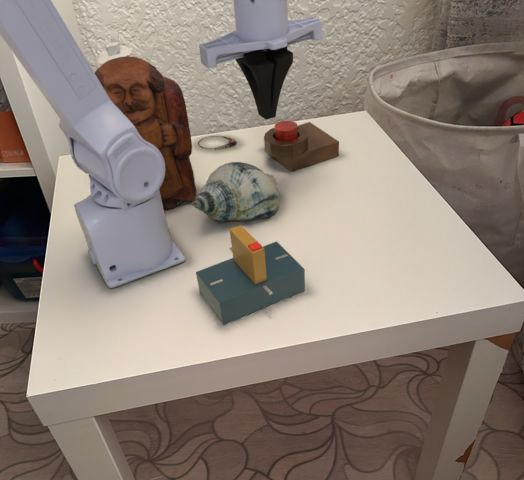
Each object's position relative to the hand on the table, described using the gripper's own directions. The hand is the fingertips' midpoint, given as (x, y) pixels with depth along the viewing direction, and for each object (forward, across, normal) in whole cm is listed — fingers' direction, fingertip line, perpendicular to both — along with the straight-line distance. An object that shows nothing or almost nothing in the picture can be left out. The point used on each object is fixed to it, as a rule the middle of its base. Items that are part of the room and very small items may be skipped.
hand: (267, 115), depth 67 cm
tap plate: (+10, -12, -17) cm, 23 cm away
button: (+7, +6, +6) cm, 11 cm away
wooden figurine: (+11, -14, +7) cm, 19 cm away
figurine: (+11, -12, +16) cm, 23 cm away
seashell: (+11, -6, -2) cm, 12 cm away
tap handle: (+7, -12, -17) cm, 22 cm away
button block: (+10, +8, +7) cm, 15 cm away
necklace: (+11, 0, +17) cm, 20 cm away
